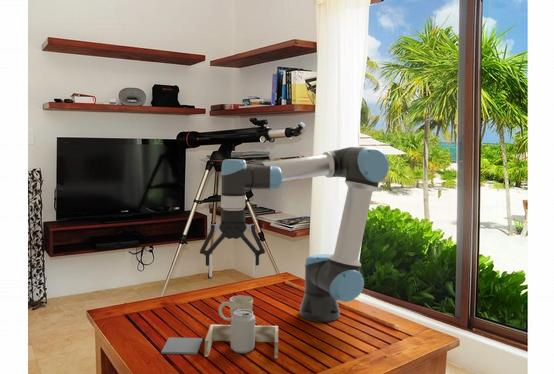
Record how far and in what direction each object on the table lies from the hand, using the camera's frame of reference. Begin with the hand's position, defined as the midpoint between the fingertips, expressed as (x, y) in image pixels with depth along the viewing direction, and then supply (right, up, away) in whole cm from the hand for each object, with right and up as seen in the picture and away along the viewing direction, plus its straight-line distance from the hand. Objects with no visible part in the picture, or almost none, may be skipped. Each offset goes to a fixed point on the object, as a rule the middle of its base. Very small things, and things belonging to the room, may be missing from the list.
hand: (232, 275), depth 152 cm
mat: (-16, -22, 0) cm, 27 cm away
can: (+3, -23, -1) cm, 23 cm away
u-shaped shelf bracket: (+3, -23, -1) cm, 23 cm away
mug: (-1, -21, +18) cm, 28 cm away
